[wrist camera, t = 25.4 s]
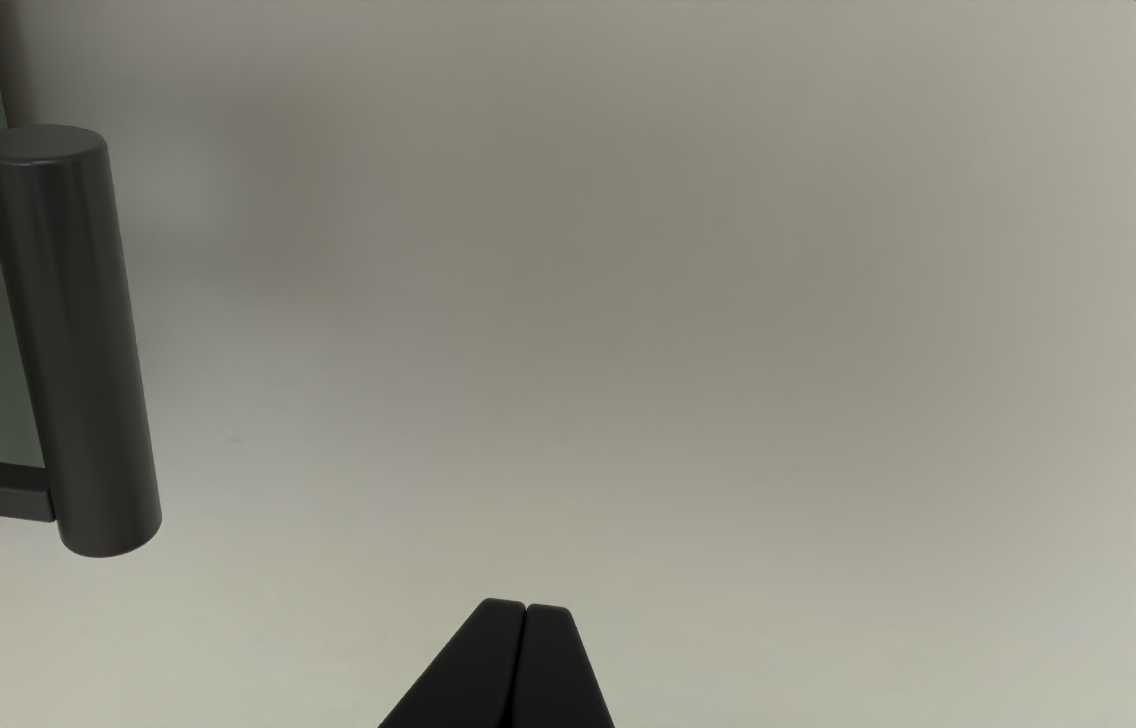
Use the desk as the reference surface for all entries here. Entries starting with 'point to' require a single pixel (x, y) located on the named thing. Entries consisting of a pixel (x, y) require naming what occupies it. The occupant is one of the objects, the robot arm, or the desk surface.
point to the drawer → (69, 348)
